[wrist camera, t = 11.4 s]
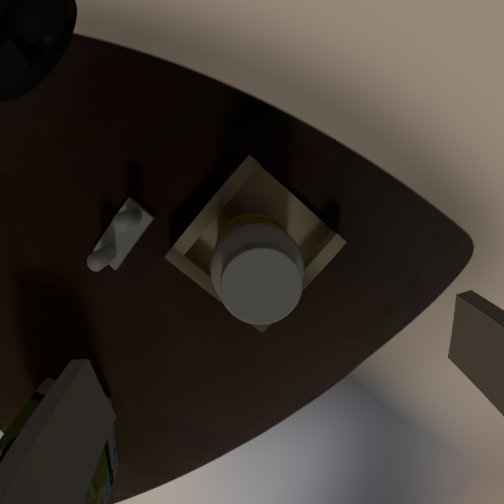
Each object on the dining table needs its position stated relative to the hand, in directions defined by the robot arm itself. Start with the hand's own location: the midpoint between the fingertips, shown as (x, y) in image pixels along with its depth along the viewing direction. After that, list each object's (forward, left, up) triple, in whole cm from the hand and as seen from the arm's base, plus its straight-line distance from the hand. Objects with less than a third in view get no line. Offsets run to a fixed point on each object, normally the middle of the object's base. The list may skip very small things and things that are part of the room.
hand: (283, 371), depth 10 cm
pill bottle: (0, 0, -19) cm, 19 cm away
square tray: (0, 0, -20) cm, 20 cm away
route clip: (-3, -12, -20) cm, 23 cm away
